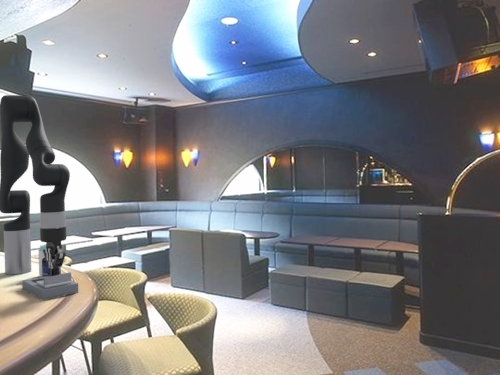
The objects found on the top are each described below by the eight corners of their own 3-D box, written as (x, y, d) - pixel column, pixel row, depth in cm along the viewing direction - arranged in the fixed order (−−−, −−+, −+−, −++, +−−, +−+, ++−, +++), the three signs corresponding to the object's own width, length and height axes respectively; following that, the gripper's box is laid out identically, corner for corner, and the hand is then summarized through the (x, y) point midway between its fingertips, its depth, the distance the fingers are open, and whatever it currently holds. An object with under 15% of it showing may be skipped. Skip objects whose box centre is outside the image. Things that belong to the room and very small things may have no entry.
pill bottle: (53, 283, 140) (52, 252, 139) (38, 282, 141) (37, 252, 141) (64, 278, 146) (64, 249, 145) (50, 278, 147) (49, 249, 147)
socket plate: (22, 289, 132) (22, 280, 132) (55, 282, 140) (55, 274, 140) (43, 300, 119) (42, 290, 119) (78, 292, 126) (78, 283, 126)
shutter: (36, 284, 126) (36, 273, 126) (62, 279, 132) (61, 269, 132) (45, 288, 121) (44, 277, 121) (71, 282, 127) (71, 272, 127)
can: (39, 278, 147) (38, 246, 147) (39, 275, 153) (38, 244, 153) (59, 276, 150) (59, 245, 150) (59, 272, 156) (58, 242, 156)
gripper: (33, 225, 127) (35, 278, 128) (48, 228, 118) (50, 285, 118) (57, 223, 133) (59, 274, 133) (73, 226, 124) (75, 280, 124)
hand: (54, 279), depth 126 cm, fingers closed
